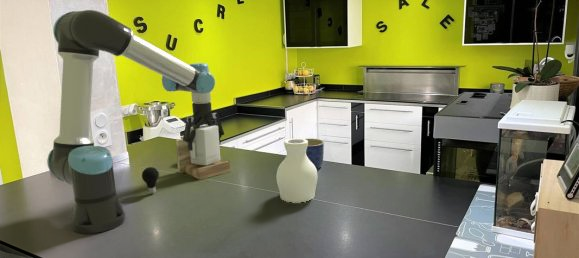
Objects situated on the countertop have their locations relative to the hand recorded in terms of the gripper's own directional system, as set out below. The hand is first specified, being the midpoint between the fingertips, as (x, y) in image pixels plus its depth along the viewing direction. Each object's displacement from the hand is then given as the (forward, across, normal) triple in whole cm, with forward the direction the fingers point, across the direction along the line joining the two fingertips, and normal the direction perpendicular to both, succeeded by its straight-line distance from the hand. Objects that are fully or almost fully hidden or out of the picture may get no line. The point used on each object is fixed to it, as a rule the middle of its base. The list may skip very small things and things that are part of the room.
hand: (205, 155), depth 178 cm
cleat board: (+7, 0, -1) cm, 7 cm away
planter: (+8, -35, +25) cm, 44 cm away
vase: (+8, -10, +47) cm, 49 cm away
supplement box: (+3, 0, 0) cm, 3 cm away
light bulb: (+8, +27, +9) cm, 29 cm away
